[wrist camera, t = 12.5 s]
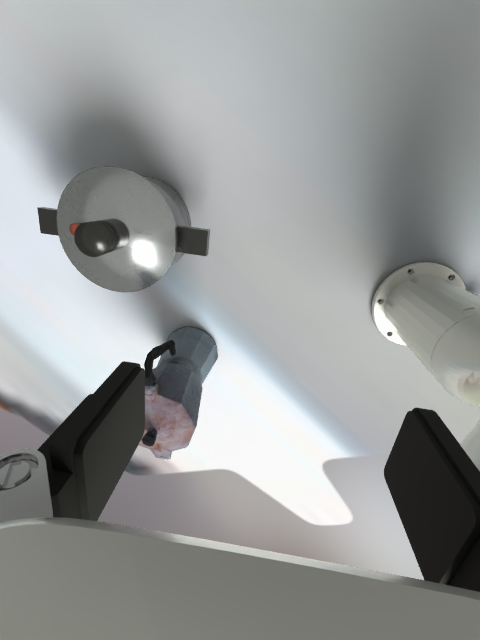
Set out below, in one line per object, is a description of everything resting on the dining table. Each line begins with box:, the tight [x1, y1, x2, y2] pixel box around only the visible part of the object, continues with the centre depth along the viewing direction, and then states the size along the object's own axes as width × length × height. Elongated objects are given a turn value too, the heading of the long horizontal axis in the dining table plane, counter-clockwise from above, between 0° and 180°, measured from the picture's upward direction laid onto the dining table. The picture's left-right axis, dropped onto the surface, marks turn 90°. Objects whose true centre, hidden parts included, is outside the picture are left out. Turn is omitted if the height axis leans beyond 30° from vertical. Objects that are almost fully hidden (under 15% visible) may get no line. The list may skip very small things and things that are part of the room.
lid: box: [57, 166, 178, 292], centre depth 34 cm, size 14×14×6 cm
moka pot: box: [138, 327, 218, 459], centre depth 43 cm, size 10×15×20 cm, turn 6°
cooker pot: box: [38, 176, 210, 265], centre depth 41 cm, size 21×13×9 cm, turn 83°
